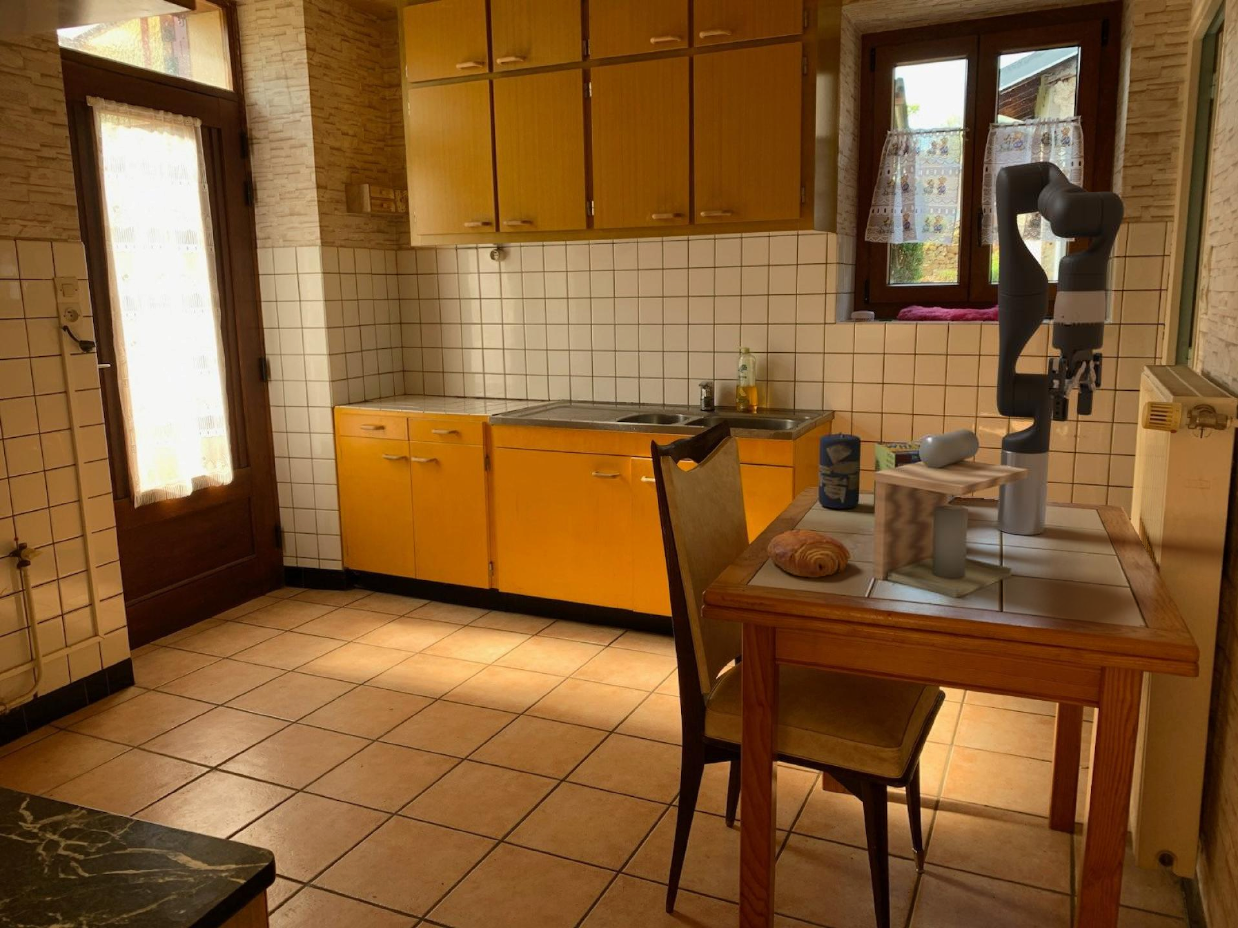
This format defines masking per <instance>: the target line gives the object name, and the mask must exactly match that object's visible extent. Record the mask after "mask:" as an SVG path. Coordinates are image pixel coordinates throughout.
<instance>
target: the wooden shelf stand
mask: <svg viewBox="0 0 1238 928" xmlns="http://www.w3.org/2000/svg"><path fill="white" fill-rule="evenodd" d="M1024 478H1027V469H1022V468H1015V467H1008V466H1001V464H993V463H986V462H979V461H971V460H967V459H965V460H962V461H959V462H956V463H952V464H949V465H946V466H942V467H939V468H930V467H928V466H926V465H925V464H924V463H923V462H917V463H913V464H909V465H904V466H900V467H895V468H891V469H887V470H882V471H878V472H875V471H874V472H873V482H874V481H876V489H875V507H874V523H873V524H874V525H873V555H872V556H873V557H872V559H873V561H872V578H873V579H875V580H876V579H877V580H881V581H883V580H888V581H892V582H895V583H900V584H903V585H907V586H910V587H914V588H918V589H921V590H925V591H928V590H929V591H930V592H931V593H932V592H933V593H935V594H941V595H943V596H947V597H950V598H951V597H952V598H959V597H962V596H963V595H966V594H969V593H972V592H974V591H976V590H977V591H978V590H979V589H982V588H984V587H986V586H989V585H991V584H994V583H996V582H998V581H1001V580H1005V579H1007V578H1009V577H1012V571H1013V569H1012V567H1007V566H1003V565H1000V564H994V563H991V562H986V561H982V560H977V559H972V558H969V557H966V565H965V576H964V577H962V578H942V577H938V576H935V575H933V574H932V562H933V532H934V508H935V507H937V506H943V505H947V502H948V494H953V495H957V496H960V497H961V496H966V495H970V494H972V493H973V494H974V493H976V492H980V491H984V490H986V489H991V488H995V487H999V485H1002V484H1006V483H1009V482H1013V481H1017V480H1020V479H1024ZM948 503H949V502H948ZM929 591H928V592H929Z"/></svg>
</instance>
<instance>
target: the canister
mask: <svg viewBox="0 0 1238 928" xmlns="http://www.w3.org/2000/svg"><path fill="white" fill-rule="evenodd" d="M861 441H862V440H861V438H860V437H859V436H858V435H854V434H849V433H848V434H846V433H843V432H842V431H839V433H831V434H830V433H829V434H825V435H822V436H821V437H820V440H819V454H818V455H819V458H818V459H819V460H818V491H817V492H818V495H817V496H818V503H819V504H820V505H821V506H824V507H825V508H826V507H827V508H833V509H849V508H854V507H857V505H858V504H859V502H860V483H861V481H860V480H861V479H860V478H861V453H862V452H861V450H862V449H861V447H862V446H861V445H862V442H861Z"/></svg>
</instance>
